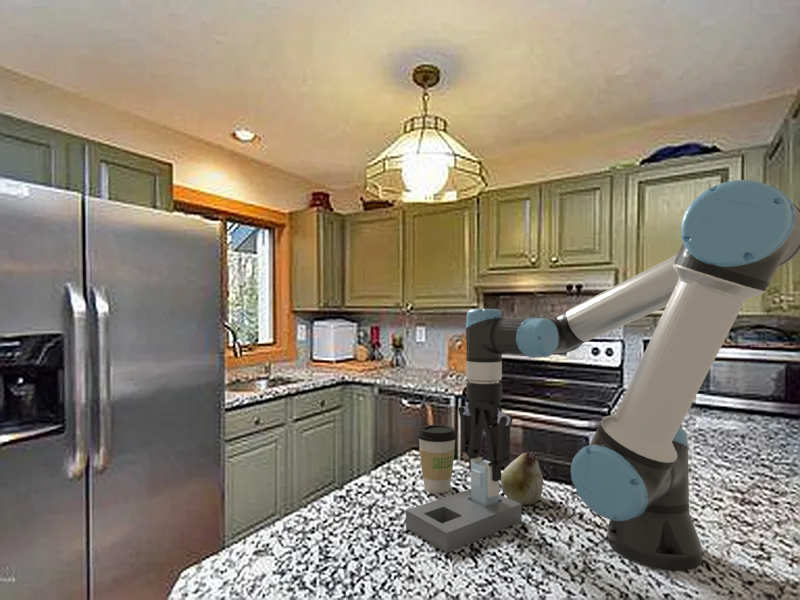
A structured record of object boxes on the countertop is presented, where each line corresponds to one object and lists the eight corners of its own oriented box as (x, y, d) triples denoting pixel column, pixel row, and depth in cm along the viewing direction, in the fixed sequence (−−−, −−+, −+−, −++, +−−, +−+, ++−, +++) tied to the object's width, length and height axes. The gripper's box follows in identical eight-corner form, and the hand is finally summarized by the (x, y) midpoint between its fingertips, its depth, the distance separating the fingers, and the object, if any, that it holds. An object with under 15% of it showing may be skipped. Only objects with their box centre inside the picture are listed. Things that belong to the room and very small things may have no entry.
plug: (498, 517, 95) (498, 464, 95) (482, 523, 92) (482, 469, 92) (484, 510, 98) (484, 459, 98) (468, 516, 95) (468, 463, 96)
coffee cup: (455, 499, 105) (455, 434, 106) (414, 496, 107) (413, 432, 108) (458, 484, 115) (458, 425, 115) (420, 481, 117) (420, 423, 117)
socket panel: (521, 523, 93) (521, 503, 93) (446, 555, 80) (446, 532, 81) (478, 504, 103) (478, 486, 103) (405, 530, 90) (405, 510, 90)
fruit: (540, 514, 98) (539, 458, 98) (497, 507, 101) (496, 453, 102) (545, 496, 107) (544, 445, 107) (505, 490, 111) (504, 441, 111)
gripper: (528, 384, 92) (529, 500, 91) (467, 375, 105) (468, 476, 104) (503, 387, 87) (504, 510, 86) (443, 378, 101) (444, 484, 100)
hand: (484, 491), depth 95 cm, fingers closed on plug, 4 cm apart
